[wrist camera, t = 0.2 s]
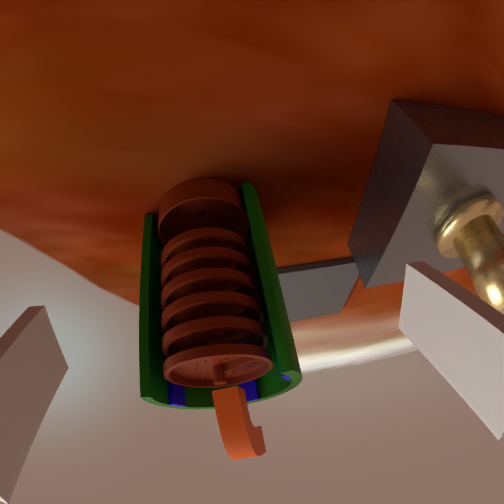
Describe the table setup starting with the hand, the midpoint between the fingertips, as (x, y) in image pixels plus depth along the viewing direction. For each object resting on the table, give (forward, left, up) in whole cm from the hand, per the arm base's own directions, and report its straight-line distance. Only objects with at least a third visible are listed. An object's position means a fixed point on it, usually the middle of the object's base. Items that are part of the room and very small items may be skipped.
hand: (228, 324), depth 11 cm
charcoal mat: (+28, +10, -16) cm, 34 cm away
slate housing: (+9, +23, -16) cm, 29 cm away
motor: (+11, -1, -16) cm, 19 cm away
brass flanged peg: (+9, +23, -14) cm, 29 cm away
